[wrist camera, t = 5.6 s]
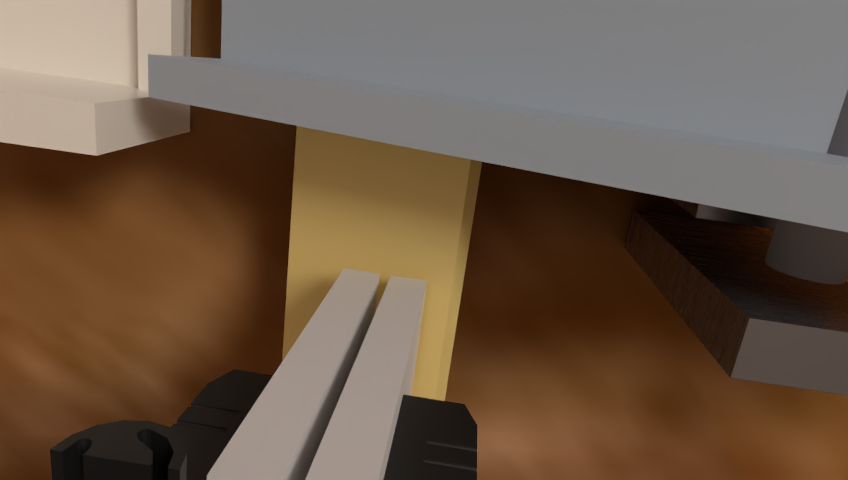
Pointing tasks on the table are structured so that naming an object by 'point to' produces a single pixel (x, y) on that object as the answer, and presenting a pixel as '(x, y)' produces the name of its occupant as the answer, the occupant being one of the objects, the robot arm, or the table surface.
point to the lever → (529, 124)
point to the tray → (88, 72)
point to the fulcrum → (744, 297)
